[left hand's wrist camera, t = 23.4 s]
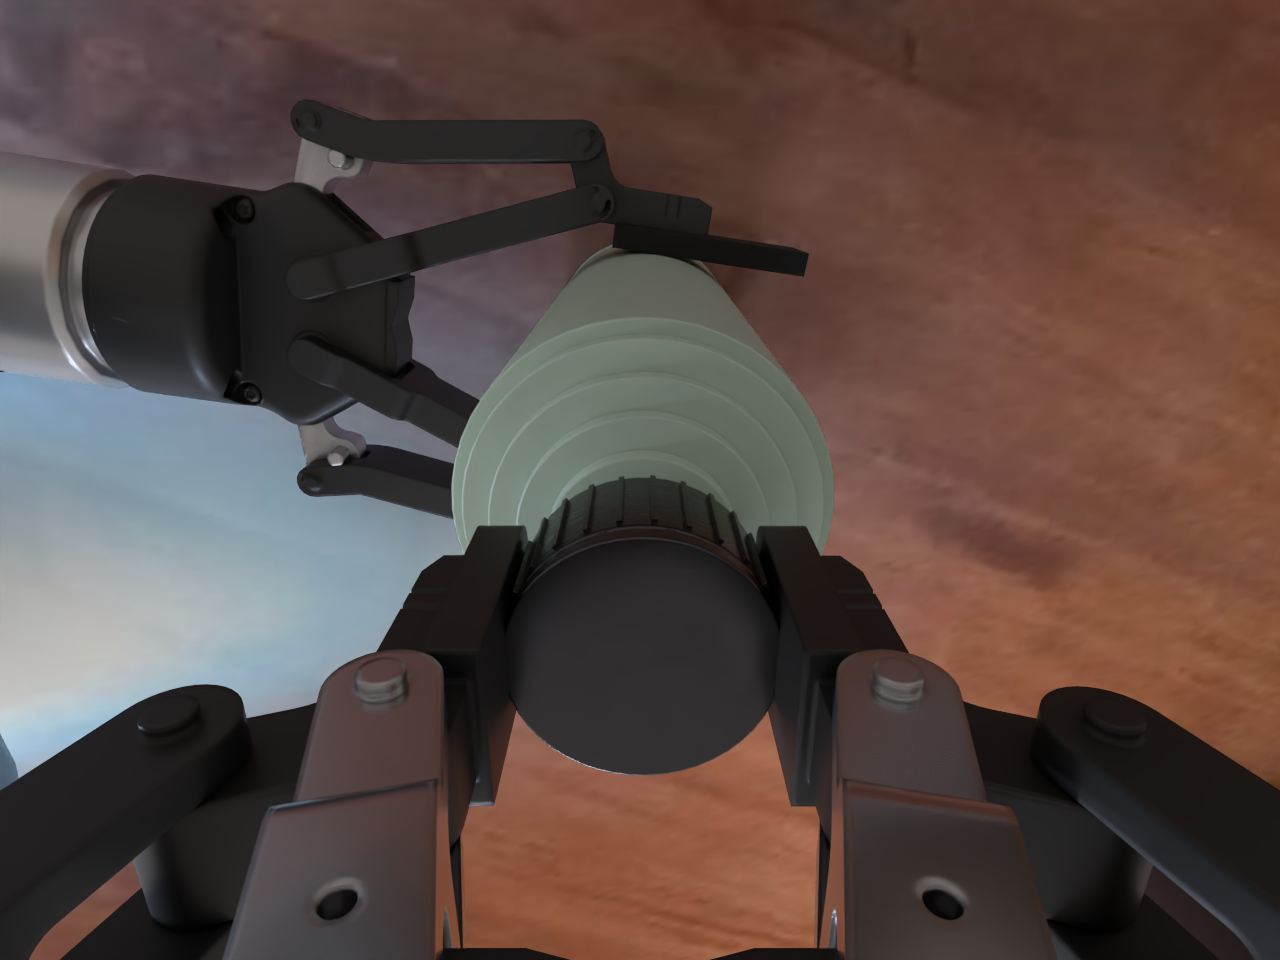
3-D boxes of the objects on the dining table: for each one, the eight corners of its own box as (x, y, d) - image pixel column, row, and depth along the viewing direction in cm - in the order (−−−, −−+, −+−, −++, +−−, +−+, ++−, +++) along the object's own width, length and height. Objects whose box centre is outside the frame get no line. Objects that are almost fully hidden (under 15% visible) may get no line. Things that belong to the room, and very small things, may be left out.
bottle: (763, 328, 33) (1016, 638, 11) (641, 441, 35) (639, 905, 13) (644, 199, 31) (646, 245, 9) (523, 326, 33) (268, 631, 11)
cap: (761, 682, 13) (783, 775, 11) (531, 689, 13) (511, 783, 11) (766, 467, 11) (794, 528, 9) (507, 476, 11) (479, 538, 9)
